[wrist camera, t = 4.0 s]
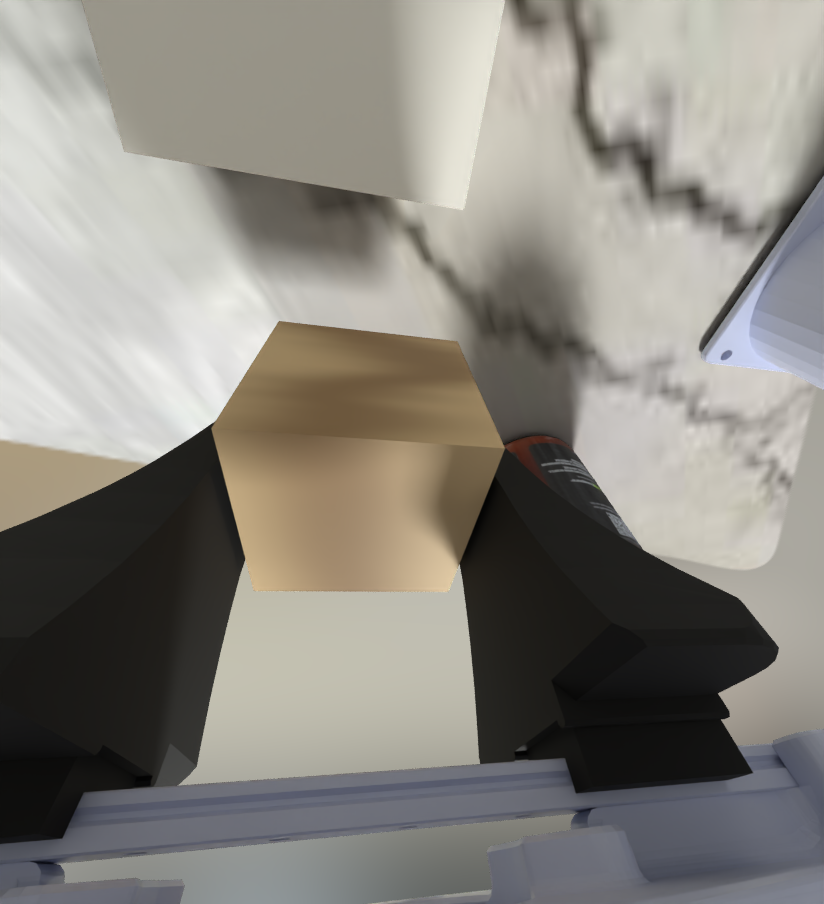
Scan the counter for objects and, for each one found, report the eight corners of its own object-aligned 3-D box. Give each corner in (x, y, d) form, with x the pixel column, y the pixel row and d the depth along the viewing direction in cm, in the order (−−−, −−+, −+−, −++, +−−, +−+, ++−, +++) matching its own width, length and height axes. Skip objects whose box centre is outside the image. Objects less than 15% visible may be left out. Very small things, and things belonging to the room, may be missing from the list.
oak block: (457, 341, 10) (505, 448, 6) (428, 468, 13) (448, 591, 9) (279, 321, 10) (211, 427, 6) (291, 460, 13) (254, 590, 9)
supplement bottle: (469, 504, 23) (525, 709, 14) (485, 430, 19) (574, 649, 11) (556, 501, 24) (661, 698, 15) (588, 429, 20) (753, 637, 11)
